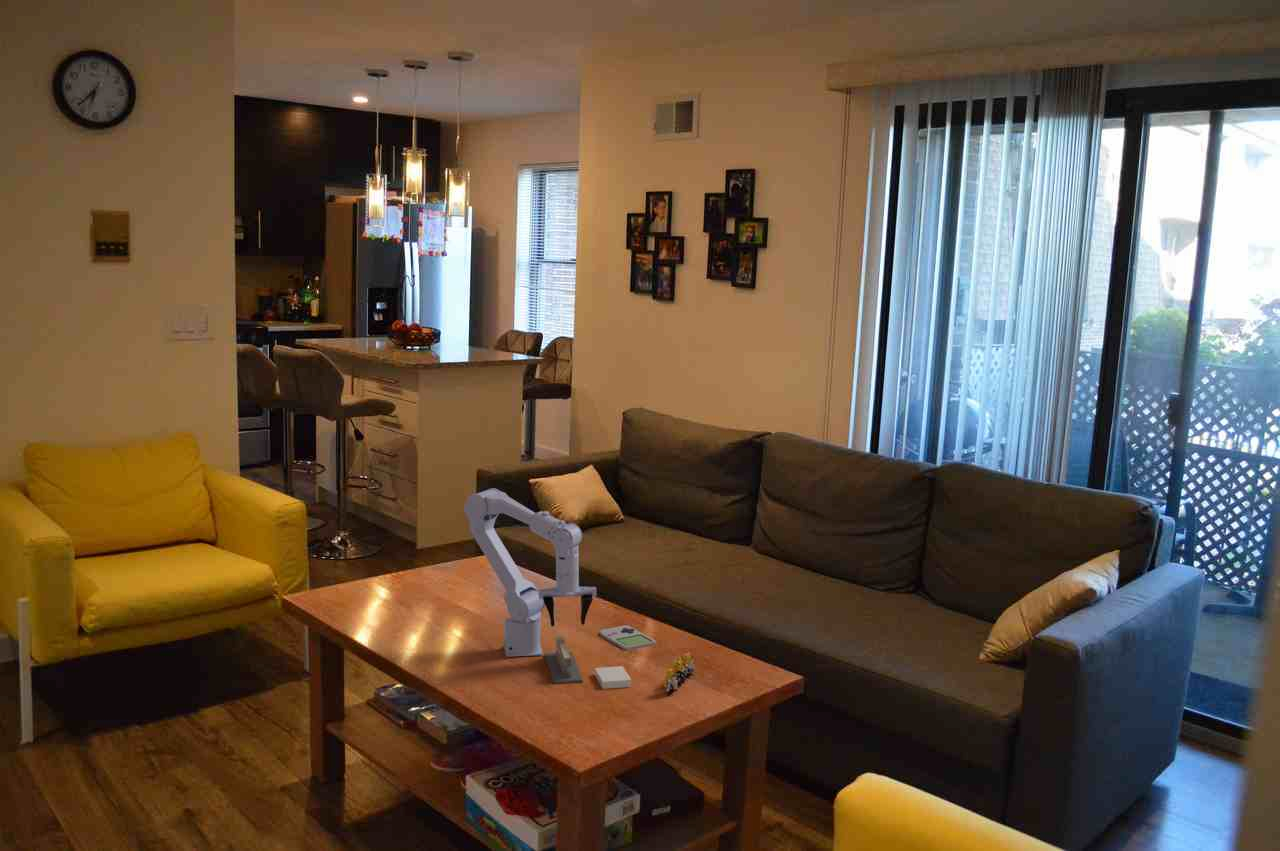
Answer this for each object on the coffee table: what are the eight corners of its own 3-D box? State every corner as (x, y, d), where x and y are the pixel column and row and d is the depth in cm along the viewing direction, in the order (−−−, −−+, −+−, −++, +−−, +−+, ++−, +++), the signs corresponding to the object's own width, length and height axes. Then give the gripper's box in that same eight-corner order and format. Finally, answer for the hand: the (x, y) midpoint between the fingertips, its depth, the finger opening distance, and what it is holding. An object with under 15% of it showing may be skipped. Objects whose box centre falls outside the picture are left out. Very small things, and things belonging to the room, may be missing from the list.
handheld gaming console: (627, 623, 292) (657, 640, 279) (627, 629, 292) (657, 646, 279) (596, 629, 286) (626, 646, 274) (596, 635, 286) (626, 652, 274)
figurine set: (659, 695, 246) (660, 669, 245) (683, 672, 261) (684, 647, 260) (672, 698, 244) (673, 671, 244) (696, 674, 259) (697, 649, 258)
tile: (594, 676, 257) (602, 690, 248) (595, 668, 257) (602, 681, 248) (622, 674, 259) (631, 688, 250) (622, 666, 258) (631, 679, 250)
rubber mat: (553, 683, 250) (553, 681, 250) (544, 655, 269) (544, 652, 269) (582, 682, 252) (582, 679, 252) (571, 653, 270) (571, 651, 270)
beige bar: (564, 678, 252) (564, 658, 252) (555, 654, 268) (556, 635, 267) (570, 677, 253) (571, 658, 252) (562, 654, 268) (562, 635, 268)
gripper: (539, 578, 258) (540, 630, 260) (598, 575, 260) (598, 627, 262) (537, 570, 265) (538, 622, 267) (594, 567, 267) (594, 619, 269)
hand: (567, 624), depth 265 cm, fingers open, 7 cm apart
